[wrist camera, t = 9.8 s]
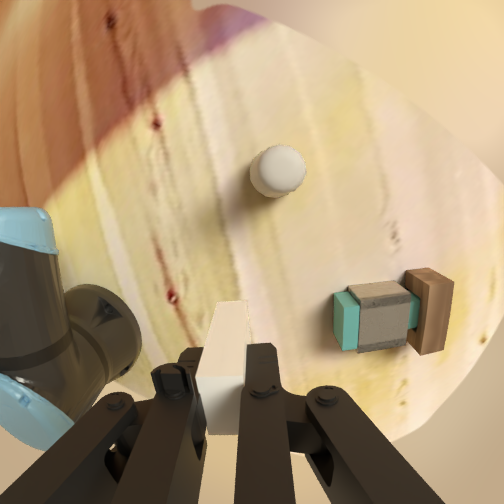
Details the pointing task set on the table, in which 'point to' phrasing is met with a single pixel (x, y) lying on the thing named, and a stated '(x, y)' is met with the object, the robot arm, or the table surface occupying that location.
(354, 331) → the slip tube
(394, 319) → the sleeve
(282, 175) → the salt shaker
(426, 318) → the socket block
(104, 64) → the table surface
